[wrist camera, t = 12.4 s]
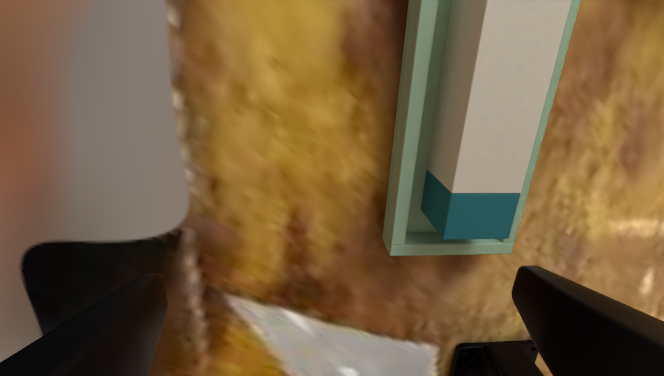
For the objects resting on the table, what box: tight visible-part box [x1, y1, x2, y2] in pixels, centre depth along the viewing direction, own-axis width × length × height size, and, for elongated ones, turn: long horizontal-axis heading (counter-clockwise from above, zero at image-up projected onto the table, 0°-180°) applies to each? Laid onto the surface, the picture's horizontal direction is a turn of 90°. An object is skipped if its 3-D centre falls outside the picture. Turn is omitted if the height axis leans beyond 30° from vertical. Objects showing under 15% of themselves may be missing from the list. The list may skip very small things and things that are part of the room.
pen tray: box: [382, 0, 581, 256], centre depth 19 cm, size 18×8×2 cm, turn 178°
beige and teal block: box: [421, 0, 572, 240], centre depth 18 cm, size 13×4×4 cm, turn 178°
